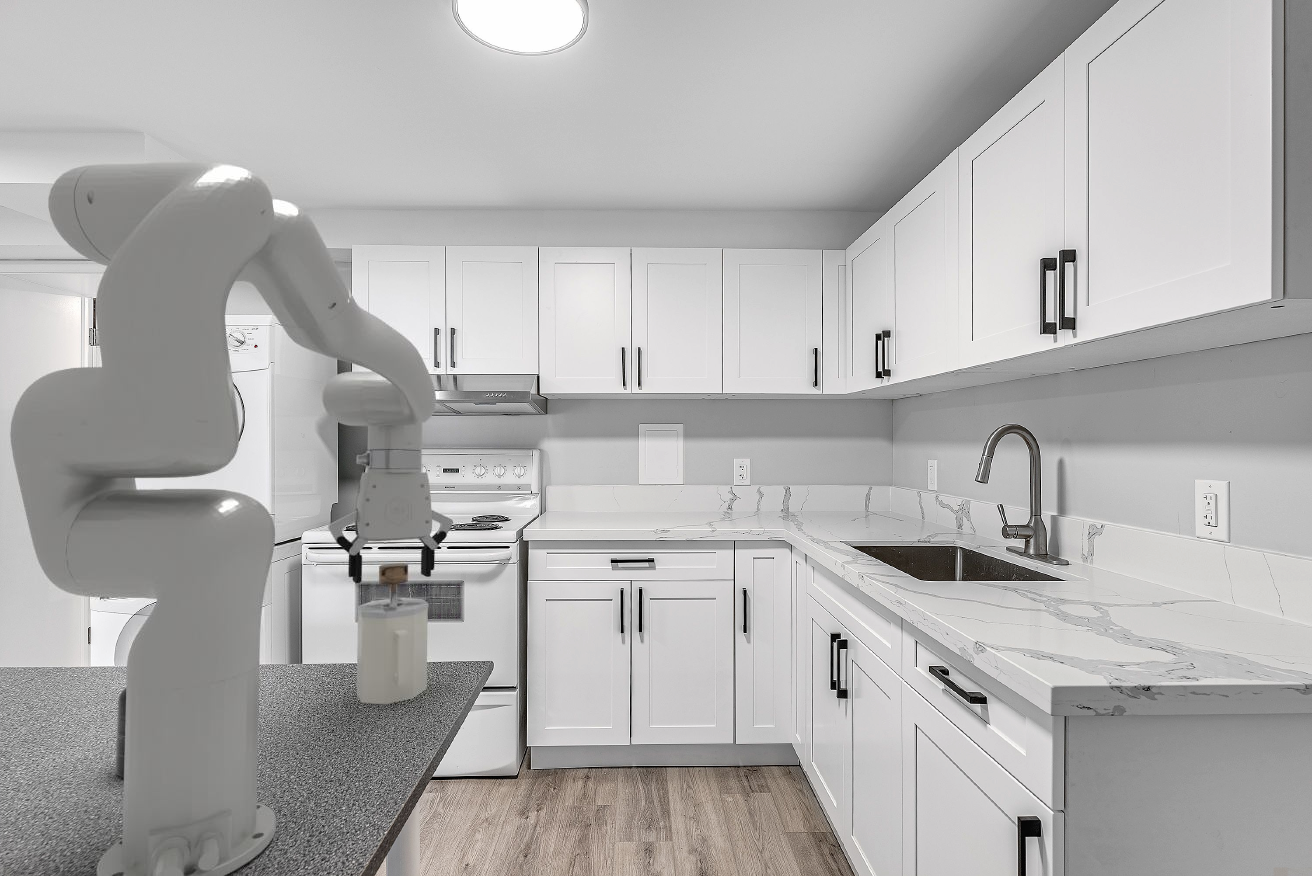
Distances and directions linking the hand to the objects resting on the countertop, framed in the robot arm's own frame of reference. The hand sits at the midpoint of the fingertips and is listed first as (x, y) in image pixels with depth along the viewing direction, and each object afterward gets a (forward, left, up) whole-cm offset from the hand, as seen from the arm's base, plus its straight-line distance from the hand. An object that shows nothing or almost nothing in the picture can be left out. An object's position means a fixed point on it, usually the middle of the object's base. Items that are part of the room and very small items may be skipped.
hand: (392, 578), depth 94 cm
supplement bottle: (-9, +27, -17) cm, 33 cm away
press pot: (-1, 0, -17) cm, 17 cm away
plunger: (0, 0, -16) cm, 16 cm away
